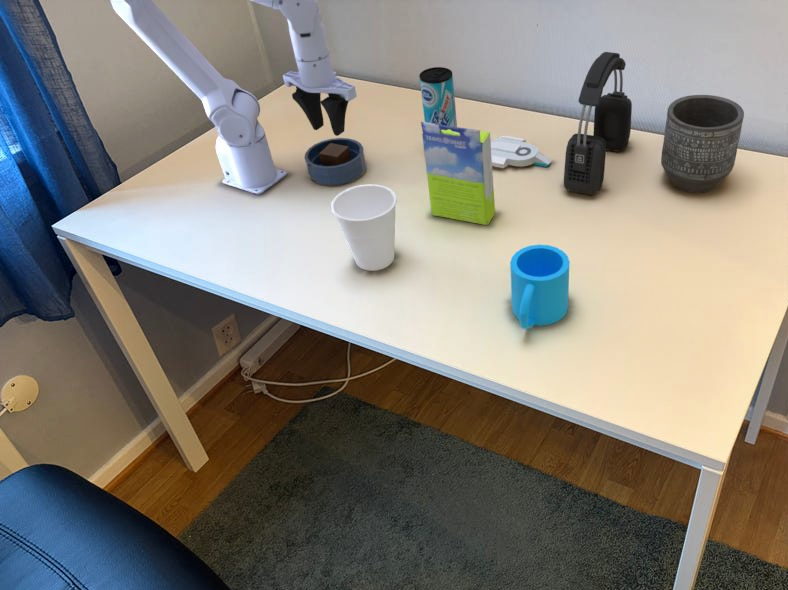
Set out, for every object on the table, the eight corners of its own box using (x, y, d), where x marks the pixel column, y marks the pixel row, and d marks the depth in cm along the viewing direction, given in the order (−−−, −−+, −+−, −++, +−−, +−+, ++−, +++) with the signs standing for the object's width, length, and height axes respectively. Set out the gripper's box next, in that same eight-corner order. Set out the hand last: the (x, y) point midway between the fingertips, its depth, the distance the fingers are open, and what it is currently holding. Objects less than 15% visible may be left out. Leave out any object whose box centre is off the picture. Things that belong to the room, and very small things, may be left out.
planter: (724, 204, 122) (738, 133, 113) (651, 193, 126) (660, 123, 117) (735, 167, 130) (749, 98, 121) (666, 158, 134) (675, 90, 125)
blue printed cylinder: (422, 152, 141) (412, 76, 130) (442, 139, 144) (434, 64, 133) (444, 161, 138) (436, 84, 127) (465, 148, 141) (459, 72, 130)
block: (323, 172, 137) (318, 153, 134) (334, 162, 139) (330, 142, 136) (341, 176, 135) (337, 156, 132) (352, 165, 138) (348, 146, 135)
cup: (396, 282, 113) (386, 222, 105) (336, 277, 115) (321, 218, 107) (413, 244, 120) (404, 185, 112) (356, 240, 122) (343, 182, 114)
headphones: (594, 202, 125) (601, 89, 111) (559, 195, 127) (562, 83, 113) (632, 140, 139) (642, 33, 125) (600, 135, 141) (606, 29, 127)
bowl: (297, 179, 137) (292, 159, 134) (334, 152, 143) (329, 133, 140) (342, 192, 132) (338, 173, 129) (378, 164, 139) (374, 145, 136)
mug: (522, 284, 111) (520, 240, 105) (574, 294, 108) (576, 249, 103) (495, 336, 103) (492, 292, 97) (551, 348, 101) (551, 303, 95)
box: (496, 213, 125) (491, 118, 112) (487, 227, 122) (481, 131, 110) (440, 203, 128) (429, 110, 115) (430, 216, 125) (417, 122, 113)
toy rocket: (460, 162, 137) (459, 151, 136) (484, 138, 143) (483, 127, 141) (538, 179, 131) (538, 167, 130) (559, 153, 137) (560, 142, 136)
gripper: (361, 52, 121) (374, 128, 131) (295, 39, 127) (312, 112, 137) (334, 69, 117) (350, 146, 127) (267, 54, 123) (287, 129, 133)
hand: (329, 130), depth 132 cm, fingers open, 4 cm apart
